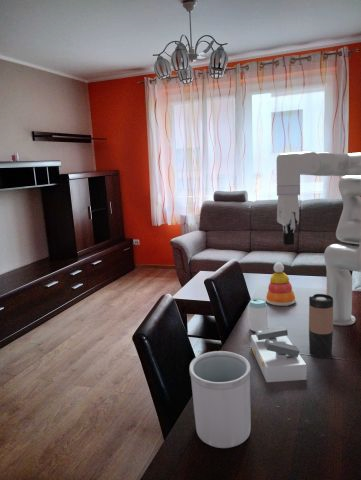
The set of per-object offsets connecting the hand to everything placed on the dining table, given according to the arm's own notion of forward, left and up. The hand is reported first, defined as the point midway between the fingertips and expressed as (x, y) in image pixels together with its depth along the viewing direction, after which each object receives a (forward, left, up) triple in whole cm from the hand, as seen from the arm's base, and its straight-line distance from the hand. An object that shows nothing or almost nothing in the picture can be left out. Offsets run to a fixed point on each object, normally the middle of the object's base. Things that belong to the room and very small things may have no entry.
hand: (288, 244), depth 129 cm
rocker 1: (+7, -8, -30) cm, 32 cm away
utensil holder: (+42, -30, -37) cm, 64 cm away
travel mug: (+8, +8, -37) cm, 39 cm away
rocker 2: (+18, -8, -30) cm, 35 cm away
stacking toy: (-42, +9, -37) cm, 57 cm away
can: (-14, -8, -37) cm, 41 cm away
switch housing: (+12, -8, -37) cm, 40 cm away
